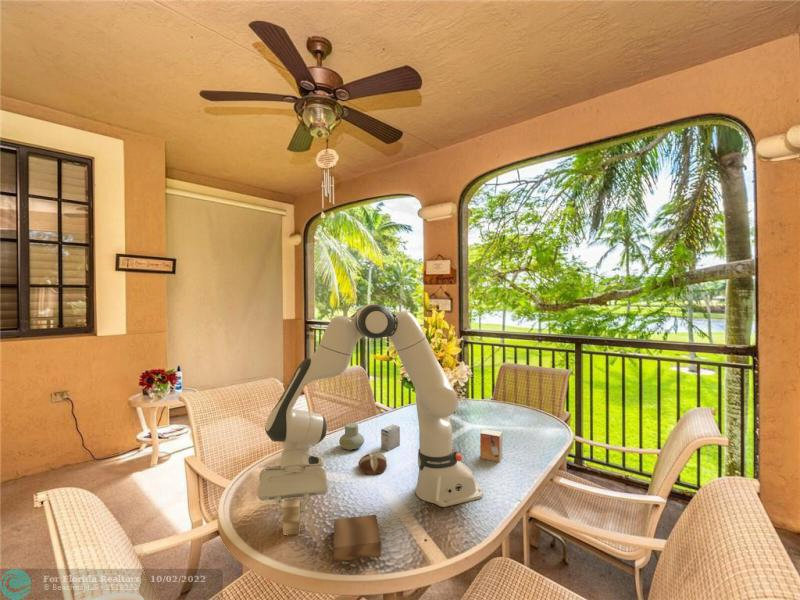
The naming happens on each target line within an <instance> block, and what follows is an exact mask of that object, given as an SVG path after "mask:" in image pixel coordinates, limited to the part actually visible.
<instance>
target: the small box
mask: <svg viewBox="0 0 800 600" xmlns="http://www.w3.org/2000/svg"><path fill="white" fill-rule="evenodd" d="M479 439H480V440H479V441H480V442H479V444H480V445H479V446H480V447H479V451H480V453H479V454H480V456H479V458H480V459H482V460H486V461H487V460H488V461H491V462H497V463H500V462H501V460H502V458H503V449H504V448H503V443H504V442H503V432H502V431H497V430H490V429H485V428H483V430H481V432H480V437H479Z"/></svg>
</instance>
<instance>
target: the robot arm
mask: <svg viewBox="0 0 800 600" xmlns="http://www.w3.org/2000/svg"><path fill="white" fill-rule="evenodd" d="M364 337H366V338H369V339H373V340H376V339H382V338H388V339H389V340H390V341H391V343H392V345H393V348H394V349H395V351H396V353H397V355H398V357H399V360H400V362H401V364H402V366H403V368H404V370H405V372H406V374H407V375H408V377H409V379H410V382H411V383H412V385H413V387H414V391H415V402H416V413H417V420H418V432H419V435H418V436H419V438H418V439H419V445H418V446H419V448H418V451H417V452H418V453H417V464H418V476H417V483H416V487H415V489H414V491H415V492H414V493H415V494H416V496H417V497H418V498H419V499H421V500H422V501H426V502H428V503H432V504H434V505H436V506H439V507H442V508H447V507H449V506H454V505H458V504H463V503H466V502H471V501H474V500H478V499H481V498H483V489H482V486H481V485H480V484H479V482H478V481H477V480H476V479H475V476H474V473H473V472H472V470H471V469H470V467H469V466H468V465H466V464H464V463H463V462H462V461H463V456H462V455H461V453H460V452H458V451H457V450H456V449H455V448H454V447H453V430H452V429H453V427H452V424H451V420H450V416H452V415H453V414H454V413H455V412H456V410H457V409H458V406H459V405H458V404H459V399H458V395H457V393H456V390H455V389H454V387H453V385H452V384H451V382H450V380H449V377H448V376H447V374H446V373H445V371H444V369H443V367H442V365H441V364H440V363H439V360H438V359H437V357H436V355H435V353H434V351H433V348H432V347H431V345H430V343H429V340H428V339H427V337H426V334H425V332H424V330H423V329H422V326H421V325H420V323H419V322H418V321H417V319H416V317H415V316H414V314H412V313H411V312H410V311H406V310H402V311H398V312H395V313H394V312H392V311H391V310H389V309H388V308H386V307H385V306H384V305H379V304H376V303H368V304H366V305H363V306H362V307H361V308H359V309H358V310H356V312H355V313H353V314H352V315H351V316H350V317H349V316H346V315H337V316H334V317H333V318H332V319H331V320H330V322H329V323H328V324H327V326H326V329H325V330H324V332H323V334H322V337H321V339H320V341H319V344H318V347H317V349H316V350H315V351H314V353H313V354H312V355H311V356H310V357H308V358H305V359H303V360H302V361H301V362H300V364H299V365H298V367H297V369H296V370H295V371H294V373H293V375H292V377H291V378H290V380H289V381H288V383H287V386H286V388H285V389H284V391H283V393H282V394H281V396H280V398H279V400H278V402H277V403H276V404H275V406H274V408H273V409H272V410H271V412H270V413H269V415H268V417H267V419H266V422H265V428H264V431H265V433H266V435H267V437H268V438H269V439H270V440H271V441H272V442H276V443H277V442H281V443H282V445H283V449H282V452H281V456H280V457H281V459H280V465H275V466H266V467H265V468H263V469H262V470H260V472H259V477H258V480H259V483H258V489H257V494H256V495H257V498H258V499H259V500H260V501H262V502H264V501H273V500H275V503H276V505H277V507H278V516H283V506H282V505H281V503H282V500H283V499H284V500H285V499H292V498H301V497H304V498H303V499H304V501H303V504H300V513H301V514H304V513H306V507H307V505H308V503H309V501H310V500H311V499H310V497H313V496H321V495H326V494H327V493H328V491H329V490H328V477H327V471H326V469H325V466H324V465H325V462H324V458H322V457H321V456H318V455H317V456H316V455H311V453H310V449H311V447H315V446H317V445H318V444H319V443H321V442H322V441H323V440H324V439H325V437H326V435H327V429H328V428H327V427H328V426H327V425H328V424H327V420H326V418H325V417H324V415H323V414H321V413H317V412H313V411H306V410H299V409H295V408H294V406H295V405H296V403H297V401H298V399H299V397H300V396H301V394H302V391H304V388H305V387H306V386H307V385H308V384H309V383H312V382H314V381H317V380H324V379H330V378H331V379H332V378H335V377H337V376H339V375H341V374H343V373H344V372H345V371H346V370H347V368H348V367H349V365H350V363H351V360H352V356H353V354H354V350H355V348H356V345H357V343H358V342H359V340H360V339H362V338H364Z"/></svg>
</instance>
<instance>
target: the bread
mask: <svg viewBox="0 0 800 600" xmlns="http://www.w3.org/2000/svg"><path fill="white" fill-rule="evenodd" d="M357 465H358V468H359V469H360V471H361V473H363V472H364V473H363V474H365V473H367V474H366V475H372V474H371V473H378V474H381V473H384V472H385V470H386V469H387V465H388V463H387V457H386V456H385V455H384V454H382V453H379V452H375V453H374V454H373V455H372V454H370V453H367V454H365V455H364V456H362V457H361V458H360V459H359V460H358V464H357Z"/></svg>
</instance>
